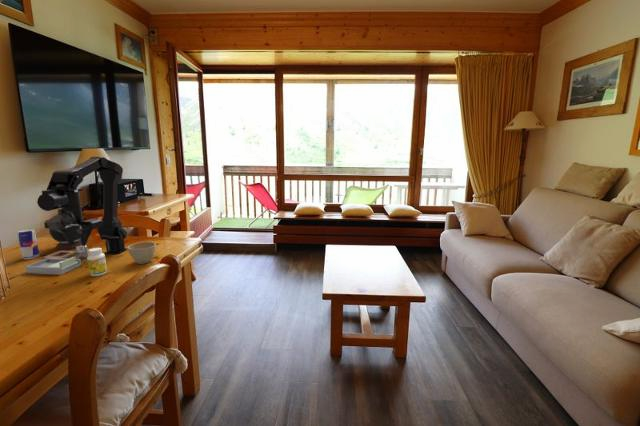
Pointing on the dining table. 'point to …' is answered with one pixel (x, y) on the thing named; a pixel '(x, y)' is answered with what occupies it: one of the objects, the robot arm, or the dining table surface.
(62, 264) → the lid
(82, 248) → the peg
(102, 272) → the supplement bottle
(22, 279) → the dining table surface
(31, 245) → the energy drink
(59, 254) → the socket board
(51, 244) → the dining table surface
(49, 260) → the gray box
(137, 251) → the light gray bowl
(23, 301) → the dining table surface
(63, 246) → the dark ball on stand
